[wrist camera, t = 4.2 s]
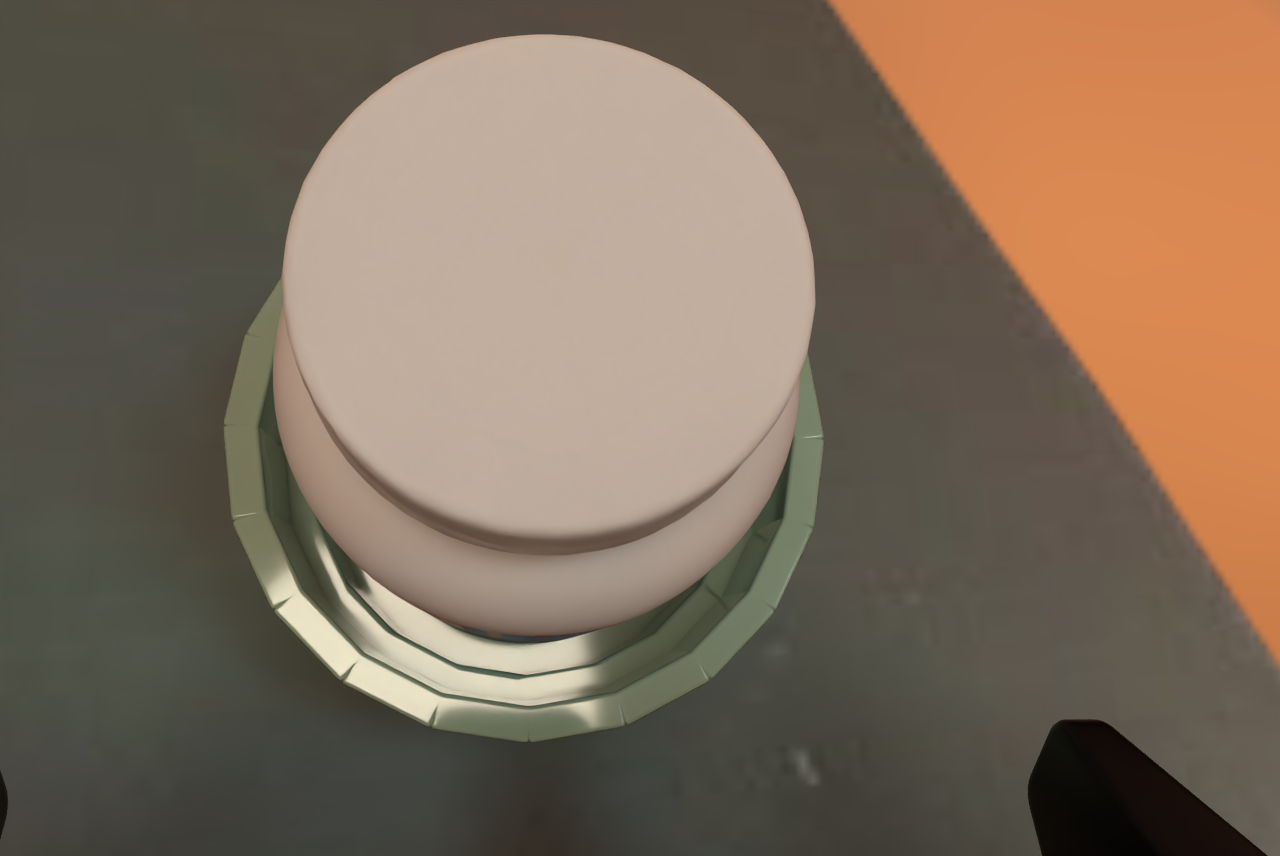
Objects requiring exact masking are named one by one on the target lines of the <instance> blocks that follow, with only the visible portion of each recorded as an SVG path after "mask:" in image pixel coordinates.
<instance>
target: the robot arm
mask: <svg viewBox="0 0 1280 856" xmlns="http://www.w3.org/2000/svg"><path fill="white" fill-rule="evenodd" d="M1028 800H1029V806H1030V810H1031V814H1032V818H1033V822H1034V826H1035V830H1036V834H1037V837H1038V841H1039V845H1040V849H1041V853H1042V856H1267V855H1266V854H1265V853H1264V852H1262V851H1261V850H1260V849H1259V848H1258V847H1256V846H1255V845H1254V844H1253V843H1252V842H1250V841H1249V840H1248V839H1247V838H1245V837H1244V836H1243V835H1242V834H1241V833H1239V832H1238V831H1237V830H1236V829H1235V828H1233V827H1232V826H1231V825H1230V824H1229V823H1227V822H1226V821H1225V820H1224V819H1223V818H1221V817H1220V816H1219V815H1218V814H1217V813H1215V812H1214V811H1213V810H1212V809H1211V808H1209V807H1208V806H1207V805H1206V804H1205V803H1203V802H1202V801H1201V800H1200V799H1199V798H1197V797H1196V796H1195V795H1194V794H1192V793H1191V792H1190V791H1189V790H1188V789H1186V788H1185V787H1184V786H1183V785H1182V784H1180V783H1179V782H1178V781H1177V780H1176V779H1174V778H1173V777H1172V776H1171V775H1170V774H1168V773H1167V772H1166V771H1165V770H1164V769H1162V768H1161V767H1160V766H1159V765H1158V764H1156V763H1155V762H1154V761H1153V760H1152V759H1150V758H1149V757H1148V756H1147V755H1146V754H1144V753H1143V752H1142V751H1141V750H1139V749H1138V748H1137V747H1136V746H1135V745H1133V744H1132V743H1131V742H1130V741H1129V740H1127V739H1126V738H1125V737H1124V736H1123V735H1121V734H1120V733H1119V732H1118V731H1117V730H1115V729H1114V728H1113V727H1112V726H1110V725H1109V724H1107V723H1105V722H1103V721H1100V720H1093V719H1088V720H1061V721H1059V722H1057V723H1056V724H1055V725H1053V727H1052V728H1051V730H1050V732H1049V734H1048V737H1047V739H1046V741H1045V744H1044V746H1043V748H1042V750H1041V753H1040V755H1039V757H1038V760H1037V762H1036V764H1035V766H1034V769H1033V771H1032V773H1031V776H1030V779H1029V784H1028ZM7 809H8V796H7V790H6V786H5V783H4V780H3V777H2V774H1V771H0V838H1V835H2V831H3V828H4V824H5V820H6V815H7Z"/></svg>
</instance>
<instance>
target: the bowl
mask: <svg viewBox="0 0 1280 856" xmlns="http://www.w3.org/2000/svg"><path fill="white" fill-rule="evenodd" d="M282 305H283V296H282V277H281V278H280V280H279V281H278V283H277V284H276V286H275V288H274V289H273V291H272V292H271V294H270V296H269V297H268V299H267V300H266V302H265V303H264V305H263V307H262V308H261V310H260V311H259V313H258V314H257V316H256V318H255V319H254V321H253V322H252V324H251V325H250V327H249V329H248V330H247V335H245V336H244V339H243V344H242V348H241V352H240V356H239V360H238V364H237V368H236V372H235V376H234V380H233V384H232V388H231V392H230V396H229V401H228V405H227V409H226V413H225V417H224V421H223V424H224V425H225V426H224V428H223V435H224V446H225V457H226V468H227V479H228V490H229V501H230V512H231V518H232V520H234V522H233V526H234V528H235V530H236V533H237V535H238V537H239V539H240V541H241V544H242V546H243V548H244V550H245V552H246V555H247V557H248V559H249V561H250V563H251V566H252V568H253V570H254V572H255V574H256V577H257V579H258V581H259V583H260V585H261V588H262V590H263V592H264V594H265V596H266V599H267V601H268V603H269V605H270V607H271V608H272V609H274V612H275V614H276V615H277V616H278V617H279V618H280V620H281V621H282V622H283V623H284V624H285V625H286V626H287V627H288V628H289V629H290V630H291V631H292V632H293V633H294V634H295V635H296V636H297V637H298V638H299V639H300V640H301V642H302V643H303V644H304V645H305V646H306V647H307V648H308V649H309V650H310V651H311V652H312V653H313V654H314V655H315V656H316V657H317V658H318V659H319V660H320V661H321V662H322V664H323V665H324V666H325V667H326V668H327V669H328V670H329V671H330V672H331V673H332V674H333V675H334V676H335V677H336V678H337V679H338V680H340V681H342V680H343V683H344V684H345V685H346V686H348V687H350V688H352V689H354V690H356V691H358V692H360V693H362V694H364V695H366V696H368V697H370V698H372V699H373V700H375V701H377V702H379V703H381V704H383V705H385V706H387V707H389V708H391V709H393V710H395V711H397V712H399V713H401V714H403V715H404V716H406V717H408V718H410V719H412V720H414V721H416V722H418V723H420V724H422V725H424V726H426V727H430V726H431V728H433V729H436V730H442V731H449V732H456V733H462V734H469V735H476V736H482V737H489V738H495V739H502V740H509V741H515V742H522V743H526V742H528V741H530V742H532V743H534V742H540V741H546V740H551V739H557V738H563V737H568V736H574V735H580V734H585V733H591V732H597V731H602V730H608V729H614V728H619V727H623V726H624V725H625V724H631V723H633V722H635V721H637V720H639V719H641V718H642V717H644V716H646V715H648V714H650V713H652V712H653V711H655V710H657V709H659V708H661V707H663V706H664V705H666V704H668V703H670V702H672V701H674V700H676V699H677V698H679V697H681V696H683V695H685V694H687V693H688V692H690V691H692V690H694V689H696V688H698V687H700V686H701V685H703V684H705V683H707V682H708V681H709V678H710V679H711V678H714V677H715V676H716V675H717V674H718V672H719V671H720V670H721V669H722V668H723V667H724V666H725V665H726V664H727V663H728V662H729V661H730V660H731V659H732V658H733V656H734V655H735V654H736V653H737V652H738V651H739V650H740V649H741V648H742V647H743V646H744V645H745V644H746V643H747V642H748V640H749V639H750V638H751V637H752V636H753V635H754V634H755V633H756V632H757V631H758V630H759V629H760V628H761V627H762V626H763V624H764V623H765V622H766V621H767V620H768V619H769V618H770V617H771V616H772V615H773V613H774V610H775V609H776V608H777V607H778V605H779V603H780V601H781V599H782V596H783V594H784V592H785V590H786V588H787V586H788V584H789V581H790V579H791V577H792V575H793V573H794V571H795V568H796V566H797V564H798V562H799V560H800V558H801V555H802V553H803V551H804V549H805V547H806V545H807V543H808V540H809V538H810V536H811V534H812V527H813V526H814V524H815V516H816V508H817V499H818V491H819V483H820V474H821V466H822V457H823V449H824V440H822V439H823V437H824V434H823V428H822V423H821V418H820V413H819V408H818V403H817V397H816V392H815V387H814V382H813V377H812V372H811V366H810V361H809V356H808V354H807V355H806V359H805V361H804V364H803V367H802V370H801V373H800V393H799V406H798V415H797V420H796V426H795V431H794V435H793V439H792V443H791V446H790V450H789V453H788V457H787V460H786V463H785V465H784V468H783V470H782V472H781V474H780V477H779V479H778V481H777V483H776V486H775V488H774V490H773V492H772V494H771V497H770V499H769V500H768V502H767V503H766V505H765V507H764V508H763V510H762V511H761V513H760V514H759V516H758V517H757V519H756V520H755V521H754V523H753V524H752V525H751V527H750V528H749V529H748V531H747V532H746V533H745V535H744V536H743V537H742V539H741V540H740V541H739V542H738V543H737V544H736V545H735V546H734V547H733V548H732V550H731V551H730V552H729V553H728V554H727V555H726V556H725V557H724V558H723V559H722V560H721V561H720V562H719V563H718V564H717V565H715V566H714V567H713V568H712V569H711V570H710V571H709V572H708V573H707V574H705V575H704V576H703V577H702V578H701V579H699V580H698V581H697V582H695V583H694V584H693V585H692V586H691V587H689V588H688V589H686V590H685V591H683V592H682V593H680V594H679V595H678V596H676V597H674V598H673V599H671V600H669V601H667V602H665V603H663V604H662V605H660V606H658V607H656V608H654V609H652V610H650V611H648V612H647V613H645V614H642V615H640V616H637V617H635V618H632V619H630V620H627V621H624V622H621V623H619V624H616V625H613V626H610V627H606V628H602V629H599V630H596V631H593V632H590V633H587V634H583V635H580V636H576V637H573V638H569V639H564V640H559V641H554V642H546V643H511V642H503V641H497V640H492V639H488V638H483V637H479V636H476V635H473V634H469V633H466V632H464V631H461V630H459V629H456V628H454V627H452V626H450V625H448V624H446V623H444V622H442V621H440V620H439V619H437V618H435V617H433V616H431V615H429V614H428V613H426V612H424V611H422V610H420V609H418V608H416V607H414V606H413V605H411V604H409V603H407V602H406V601H404V600H403V599H401V598H399V597H398V596H396V595H395V594H393V593H392V592H390V591H389V590H387V589H386V588H385V587H383V586H382V585H381V584H379V583H378V582H376V581H375V580H374V579H372V578H371V577H370V576H369V575H368V574H367V573H366V572H365V571H364V570H362V569H361V568H360V567H359V566H358V565H357V564H356V563H355V562H354V561H353V560H351V558H350V557H349V556H348V555H347V554H346V553H345V552H344V551H343V550H342V549H341V548H340V547H339V546H338V545H337V543H336V542H335V541H334V540H333V539H332V537H331V536H330V535H329V534H328V533H327V531H326V530H325V529H324V528H323V526H322V525H321V523H320V522H319V520H318V519H317V517H316V516H315V514H314V513H313V511H312V510H311V508H310V506H309V505H308V503H307V502H306V500H305V498H304V496H303V494H302V492H301V491H300V489H299V487H298V484H297V482H296V480H295V477H294V475H293V473H292V470H291V468H290V466H289V463H288V460H287V458H286V455H285V452H284V449H283V445H282V441H281V437H280V434H279V430H278V424H277V418H276V413H275V405H274V393H273V355H274V347H275V340H276V333H277V328H278V323H279V318H280V313H281V309H282Z"/></svg>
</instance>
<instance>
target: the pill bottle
mask: <svg viewBox="0 0 1280 856" xmlns="http://www.w3.org/2000/svg"><path fill="white" fill-rule="evenodd" d="M282 296H283V305H282V309H281V313H280V318H279V323H278V328H277V333H276V340H275V347H274V355H273V393H274V405H275V413H276V418H277V424H278V430H279V434H280V437H281V441H282V445H283V449H284V452H285V455H286V458H287V460H288V463H289V466H290V468H291V470H292V473H293V475H294V477H295V480H296V482H297V484H298V487H299V489H300V491H301V492H302V494H303V496H304V498H305V500H306V502H307V503H308V505H309V506H310V508H311V510H312V511H313V513H314V514H315V516H316V517H317V519H318V520H319V522H320V523H321V525H322V526H323V528H324V529H325V530H326V531H327V533H328V534H329V535H330V536H331V537H332V539H333V540H334V541H335V542H336V543H337V545H338V546H339V547H340V548H341V549H342V550H343V551H344V552H345V553H346V554H347V555H348V556H349V557H350V558H351V560H353V561H354V562H355V563H356V564H357V565H358V566H359V567H360V568H361V569H362V570H364V571H365V572H366V573H367V574H368V575H369V576H370V577H371V578H372V579H374V580H375V581H376V582H378V583H379V584H381V585H382V586H383V587H385V588H386V589H387V590H389V591H390V592H392V593H393V594H395V595H396V596H398V597H399V598H401V599H403V600H404V601H406V602H407V603H409V604H411V605H413V606H414V607H416V608H418V609H420V610H422V611H424V612H426V613H428V614H429V615H431V616H433V617H435V618H437V619H439V620H440V621H442V622H444V623H446V624H448V625H450V626H452V627H454V628H456V629H459V630H461V631H464V632H466V633H469V634H473V635H476V636H479V637H483V638H488V639H492V640H497V641H503V642H511V643H546V642H554V641H559V640H564V639H569V638H573V637H576V636H580V635H583V634H587V633H590V632H593V631H596V630H599V629H602V628H606V627H610V626H613V625H616V624H619V623H621V622H624V621H627V620H630V619H632V618H635V617H637V616H640V615H642V614H645V613H647V612H648V611H650V610H652V609H654V608H656V607H658V606H660V605H662V604H663V603H665V602H667V601H669V600H671V599H673V598H674V597H676V596H678V595H679V594H680V593H682V592H683V591H685V590H686V589H688V588H689V587H691V586H692V585H693V584H694V583H695V582H697V581H698V580H699V579H701V578H702V577H703V576H704V575H705V574H707V573H708V572H709V571H710V570H711V569H712V568H713V567H714V566H715V565H717V564H718V563H719V562H720V561H721V560H722V559H723V558H724V557H725V556H726V555H727V554H728V553H729V552H730V551H731V550H732V548H733V547H734V546H735V545H736V544H737V543H738V542H739V541H740V540H741V539H742V537H743V536H744V535H745V533H746V532H747V531H748V529H749V528H750V527H751V525H752V524H753V523H754V521H755V520H756V519H757V517H758V516H759V514H760V513H761V511H762V510H763V508H764V507H765V505H766V503H767V502H768V500H769V499H770V497H771V494H772V492H773V490H774V488H775V486H776V483H777V481H778V479H779V477H780V474H781V472H782V470H783V468H784V465H785V463H786V460H787V457H788V453H789V450H790V446H791V443H792V439H793V435H794V431H795V426H796V420H797V415H798V406H799V393H800V373H801V370H802V367H803V364H804V361H805V359H806V355H807V351H808V346H809V341H810V336H811V330H812V323H813V316H814V310H815V279H814V263H813V254H812V249H811V245H810V240H809V235H808V230H807V227H806V224H805V221H804V218H803V215H802V212H801V209H800V205H799V202H798V200H797V198H796V196H795V194H794V192H793V190H792V187H791V185H790V183H789V181H788V179H787V177H786V175H785V173H784V171H783V170H782V168H781V167H780V165H779V164H778V162H777V160H776V159H775V157H774V156H773V154H772V153H771V151H770V150H769V148H768V147H767V146H766V144H765V143H764V142H763V140H762V139H761V138H760V136H759V135H758V134H757V133H756V132H755V131H754V129H753V128H752V127H751V126H750V125H749V124H748V122H747V121H746V120H745V119H744V118H743V117H742V116H741V115H740V114H739V113H738V112H737V111H736V110H735V109H734V108H733V107H731V106H730V105H729V104H728V103H727V102H726V101H724V100H723V99H722V98H721V97H720V96H718V95H717V94H716V93H714V92H713V91H712V90H711V89H709V88H708V87H707V86H705V85H704V84H702V83H701V82H699V81H698V80H696V79H695V78H693V77H691V76H690V75H688V74H687V73H685V72H684V71H682V70H680V69H679V68H677V67H674V66H672V65H670V64H668V63H665V62H663V61H661V60H659V59H656V58H654V57H652V56H650V55H648V54H645V53H643V52H640V51H637V50H634V49H631V48H628V47H624V46H621V45H618V44H615V43H610V42H606V41H601V40H596V39H590V38H585V37H580V36H566V35H549V34H546V35H523V36H512V37H504V38H496V39H491V40H487V41H483V42H479V43H475V44H471V45H467V46H464V47H460V48H457V49H454V50H450V51H447V52H444V53H442V54H440V55H437V56H435V57H433V58H431V59H429V60H427V61H425V62H423V63H420V64H418V65H416V66H414V67H412V68H410V69H409V70H407V71H405V72H403V73H402V74H400V75H398V76H396V77H395V78H393V79H392V80H391V81H390V82H389V83H387V84H386V85H384V86H383V87H382V88H380V89H379V90H378V91H376V92H375V93H373V94H372V95H371V96H370V97H369V98H367V99H366V100H365V101H364V102H363V103H362V104H361V105H360V106H359V107H357V108H356V109H355V110H354V111H353V112H352V113H351V115H350V116H349V117H348V118H347V119H346V120H345V121H344V122H343V123H342V125H341V126H340V127H339V128H338V129H337V130H336V132H335V133H334V134H333V136H332V137H331V138H330V140H329V141H328V142H327V144H326V145H325V146H324V147H323V149H322V150H321V152H320V154H319V156H318V158H317V159H316V161H315V163H314V165H313V166H312V168H311V170H310V172H309V174H308V175H307V177H306V179H305V181H304V183H303V185H302V188H301V191H300V194H299V196H298V199H297V202H296V205H295V207H294V210H293V213H292V216H291V219H290V224H289V229H288V234H287V239H286V243H285V252H284V262H283V271H282Z"/></svg>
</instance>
